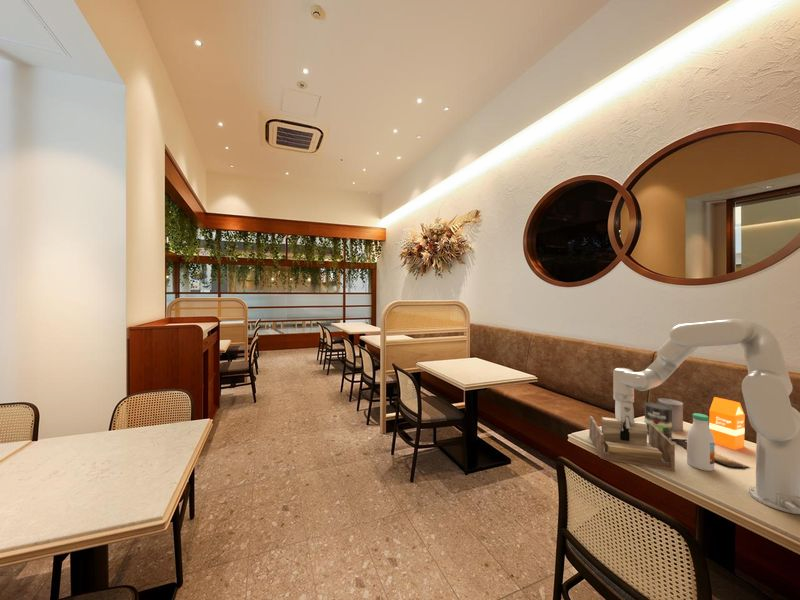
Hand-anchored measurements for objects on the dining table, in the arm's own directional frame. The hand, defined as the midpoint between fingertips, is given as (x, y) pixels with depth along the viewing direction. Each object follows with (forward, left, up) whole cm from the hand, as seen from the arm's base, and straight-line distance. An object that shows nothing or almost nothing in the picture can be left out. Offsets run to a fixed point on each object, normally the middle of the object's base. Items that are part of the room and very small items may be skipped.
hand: (623, 438), depth 138 cm
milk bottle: (-9, -23, -4) cm, 25 cm away
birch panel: (0, 0, -2) cm, 2 cm away
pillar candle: (+31, -28, -4) cm, 42 cm away
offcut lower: (-12, 0, -3) cm, 12 cm away
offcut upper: (-12, 0, -1) cm, 12 cm away
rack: (-6, 0, -4) cm, 7 cm away
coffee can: (+19, -19, -4) cm, 27 cm away
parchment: (+7, -35, -4) cm, 36 cm away
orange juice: (+19, -44, -4) cm, 48 cm away
